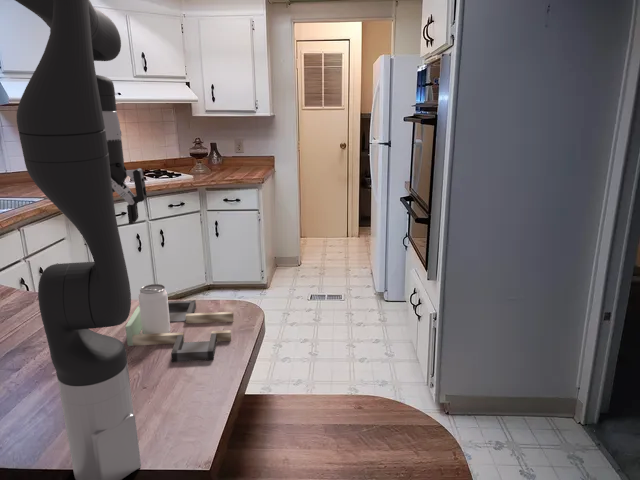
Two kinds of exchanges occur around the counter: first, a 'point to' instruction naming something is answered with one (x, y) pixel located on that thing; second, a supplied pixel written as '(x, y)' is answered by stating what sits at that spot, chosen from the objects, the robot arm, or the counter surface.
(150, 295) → the can
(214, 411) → the counter surface
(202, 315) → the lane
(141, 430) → the counter surface
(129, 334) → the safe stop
